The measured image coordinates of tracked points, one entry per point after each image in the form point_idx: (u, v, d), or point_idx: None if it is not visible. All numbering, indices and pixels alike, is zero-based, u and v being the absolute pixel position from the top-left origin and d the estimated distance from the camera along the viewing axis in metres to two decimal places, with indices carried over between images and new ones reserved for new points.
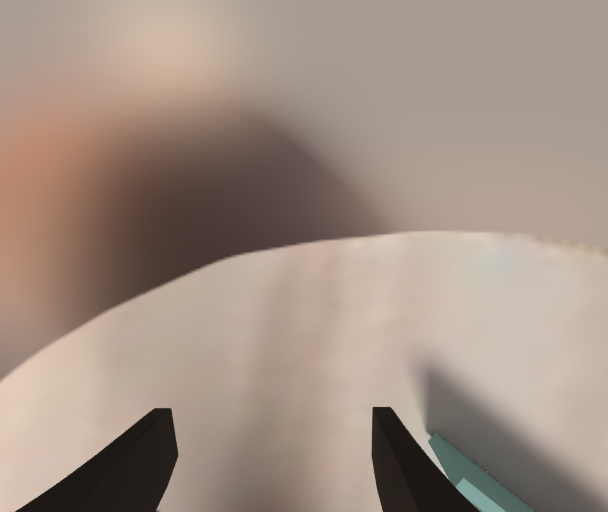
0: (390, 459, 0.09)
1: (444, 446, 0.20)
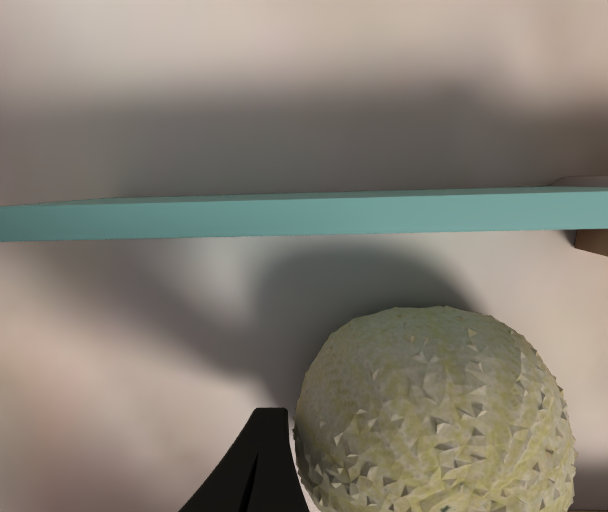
0: None
1: (78, 200, 0.10)
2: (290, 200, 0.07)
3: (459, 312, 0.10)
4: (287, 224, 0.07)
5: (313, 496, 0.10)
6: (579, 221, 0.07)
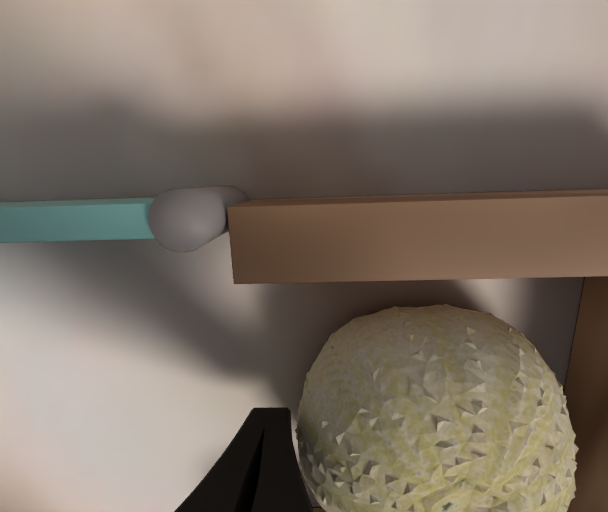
0: None
1: None
2: None
3: (458, 310, 0.10)
4: None
5: (317, 495, 0.10)
6: (68, 233, 0.07)
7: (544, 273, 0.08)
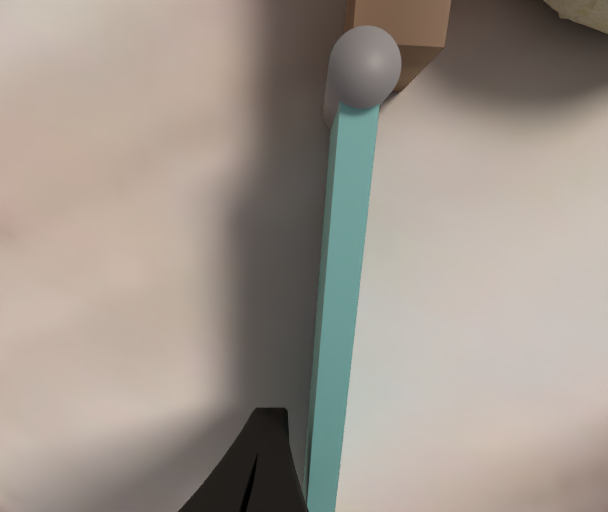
0: None
1: None
2: (312, 444, 0.08)
3: None
4: (332, 448, 0.08)
5: None
6: (360, 209, 0.07)
7: None
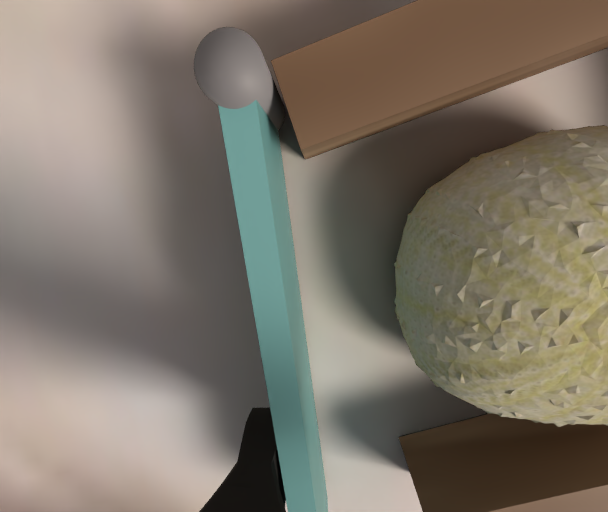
0: None
1: None
2: (277, 443, 0.08)
3: (546, 132, 0.09)
4: (297, 444, 0.08)
5: (450, 378, 0.09)
6: (263, 205, 0.07)
7: None
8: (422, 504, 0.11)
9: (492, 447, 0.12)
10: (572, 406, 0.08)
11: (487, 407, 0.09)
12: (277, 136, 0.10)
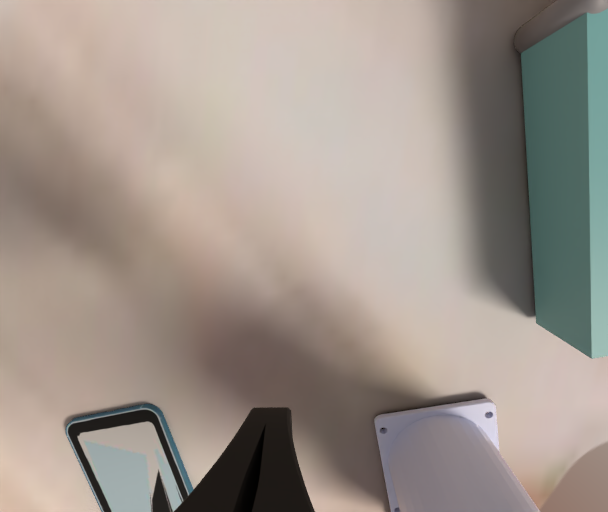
0: None
1: (552, 332, 0.18)
2: (590, 223, 0.14)
3: None
4: (602, 222, 0.14)
5: None
6: (604, 68, 0.13)
7: None
8: None
9: None
10: None
11: None
12: None
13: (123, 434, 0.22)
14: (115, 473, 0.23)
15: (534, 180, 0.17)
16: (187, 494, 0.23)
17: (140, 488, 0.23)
